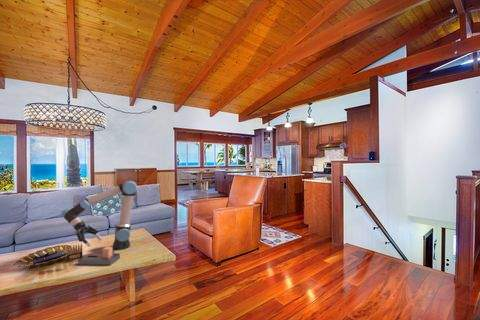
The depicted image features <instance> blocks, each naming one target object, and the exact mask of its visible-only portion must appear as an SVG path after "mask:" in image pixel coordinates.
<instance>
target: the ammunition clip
mask: <svg viewBox="0 0 480 320" xmlns="http://www.w3.org/2000/svg"><path fill="white" fill-rule="evenodd" d="M82 257H83V244H82V243H80V244H78V245H77V244H75V245H74V244H73V246H72V245H70V246H69V245H67V250H66V262H70V261H74V260H79V259H81V258H82Z"/></svg>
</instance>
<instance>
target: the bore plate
mask: <svg viewBox="0 0 480 320" xmlns="http://www.w3.org/2000/svg"><path fill="white" fill-rule="evenodd" d="M119 259H121V254H120V253H112V256H111V257H110V258H103V252H102V253H100V252H99V253H96V252H95V253H93V252H91V253H87V254H86V255H85V256H82V258H80V259H77V265H78V266H112V265H113V264H114V263H116V262H117V261H118V260H119Z"/></svg>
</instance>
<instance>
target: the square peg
mask: <svg viewBox="0 0 480 320" xmlns="http://www.w3.org/2000/svg"><path fill="white" fill-rule="evenodd" d="M113 251H114V249H113V247H112V246H106V247H103V248H102V253H103V258H110V257H111V256H112V254H113Z"/></svg>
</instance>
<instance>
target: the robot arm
mask: <svg viewBox="0 0 480 320" xmlns="http://www.w3.org/2000/svg"><path fill="white" fill-rule="evenodd" d="M137 190H138V185H137V183H136V182H135V181H133V180H131V179H130V180H129V179H128V180H127V179H126V180H125V181H123V182H121V183H120V184H117V186H114V187H112V188H110V189H107V190H104V191H103V192H99V193H97V194H94V195H92V196H90V197H88V198H85V199H81V200H79V201H78V202H77V204H76V205H74V207H72V208H71V207H67V208H66V209H64V210H63V211H61V214H60V215H61V216H62V217H63V219H65V221H66V222H67V223H68V224H70V226H71V227H72V228H73V229H74V230H75V231H74V233H75V234H76V237H77V240H78V242H80V243H82V242H83V244H85V246H87V247H88V248H89V247H90V246H91V245H92V243H91V242H90V241H89V240H88V239H87V238H85V234H86V233H88V234H91V235H94V237H95V238H96V239H97V240H98V241H99V242H101V241H102V240H103V238H102V236H100V234H99V230H97V229H95V228H93V227H92V226H90V225H89V224H88V225H87V226H86V223H85V222H84V221H83V220H82V219H81V218H80V217H79V215H80V214H82V213H83V212H84V211H86V210H87V209H88V208H90V207H91V206H94V205H95V204H98V203H101V202H103V201H106V200H108V199H111V198H114V197H115V196H117V195H120V194H121V197H122V200H121V208H120V216H119V220H118V221H119V222H118V223H117V222H116V224H114V241H113V244H112V246H111V247H113V251H115V250H116V251H119V250H120V251H121V250H126V249H128V248H130V247H131V242H130V237H131V227H132V225H131V224H130V223H131V215H132V207H133V201H134V198H135V197H136V192H137ZM125 248H126V249H125Z"/></svg>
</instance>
